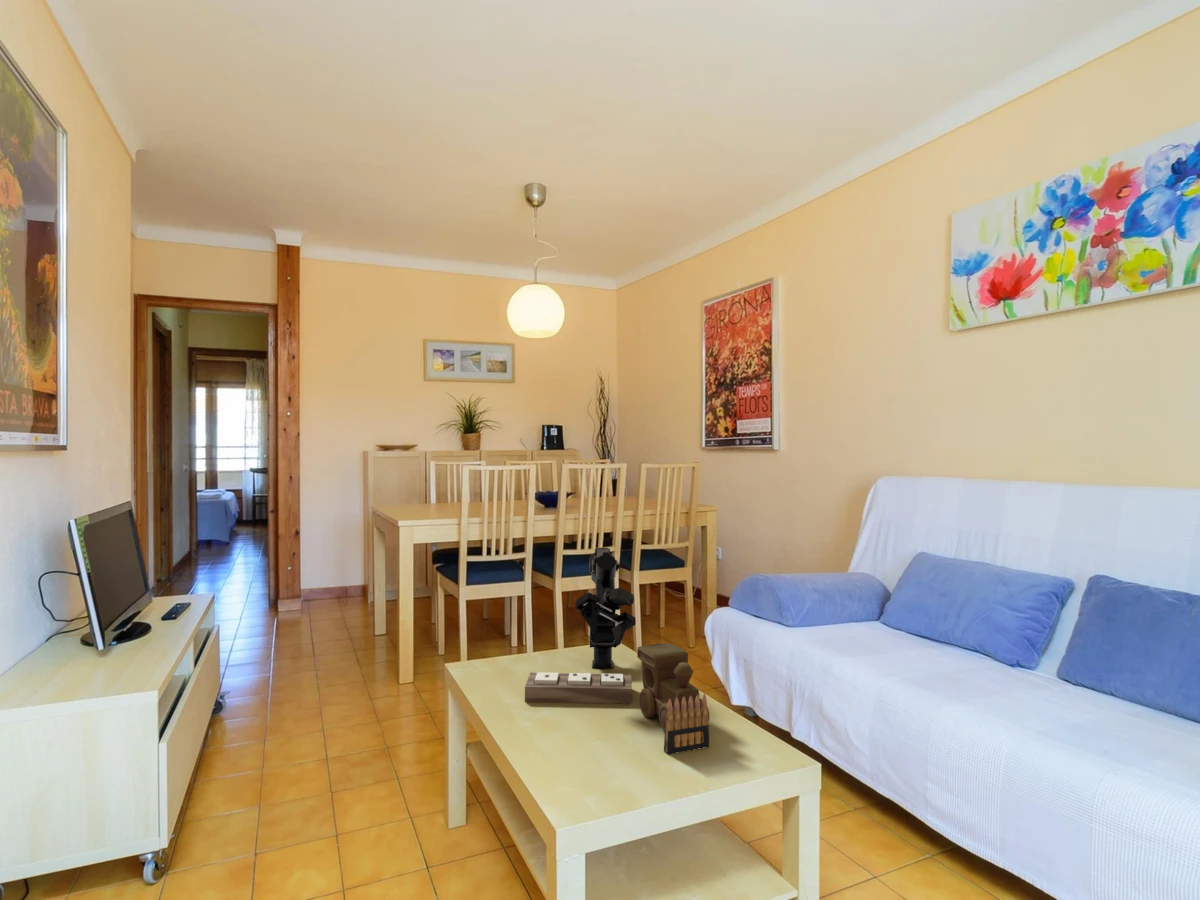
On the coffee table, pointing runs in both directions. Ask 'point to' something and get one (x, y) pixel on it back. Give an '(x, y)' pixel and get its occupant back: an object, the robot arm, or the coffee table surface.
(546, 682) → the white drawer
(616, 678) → the three dot tile
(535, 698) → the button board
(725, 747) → the coffee table surface
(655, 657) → the wooden toy train
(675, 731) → the ammunition clip
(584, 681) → the two dot tile
